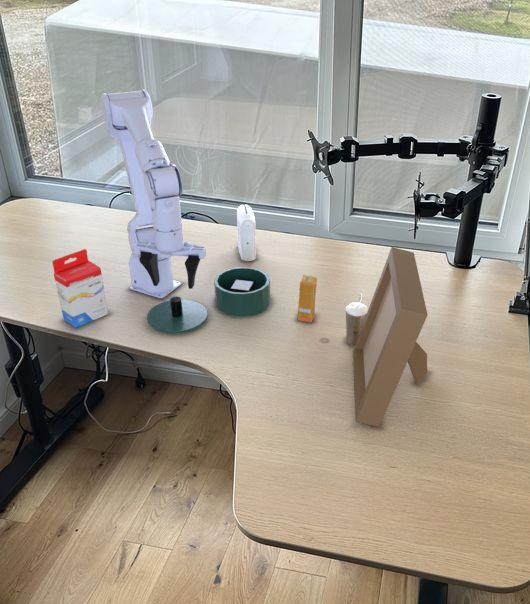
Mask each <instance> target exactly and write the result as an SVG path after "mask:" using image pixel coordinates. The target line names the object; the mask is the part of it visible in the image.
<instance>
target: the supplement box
mask: <svg viewBox="0 0 530 604" xmlns="http://www.w3.org/2000/svg"><path fill="white" fill-rule="evenodd" d="M317 281H318V277H317V276H314V275H308V274H307V275H305V274H303V275H302V278H301V280H300V282H299V293H298V307H297V308H298V310H297V321H299V322H305V323H312V322H313V319H314V316H315V309H316V293H317Z"/></svg>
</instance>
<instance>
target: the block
mask: <svg viewBox="0 0 530 604" xmlns="http://www.w3.org/2000/svg"><path fill="white" fill-rule="evenodd" d="M252 291H254V282H251V281H243V280H236V281H235V282H234V284H233V286H232V287H231V292H240V293H244V292H252Z"/></svg>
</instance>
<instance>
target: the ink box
mask: <svg viewBox="0 0 530 604" xmlns="http://www.w3.org/2000/svg"><path fill="white" fill-rule="evenodd" d="M70 259H75V260H72V261H69V260H70ZM67 261H69V262H67ZM66 262H67V263H66ZM52 267H53V277H54V281H55V287H56V291H57V295H58V300H59V305H60V309H61V313H62V317H63V321H65V322H66V323H67V324H69V325H71V326H72V327H73V328H75V329H77V328H79V327H81V326H83V325H86V324H88V323H91V322H93V321H95V320H98V319H101V318H102V317H104V316H107V315H109V309H108V303H107V298H106V292H105V286H104V280H103V273H102V269H101V267H100V266H98V265H97V264H96V263H94V262H93V261H90V260H89V258H88V250H87V249H86V248H84V249H81V250H78V251H75V252H73V253H70V254H66V255H64V256H60V257H58V258H55V259H53V260H52Z"/></svg>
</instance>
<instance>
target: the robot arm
mask: <svg viewBox="0 0 530 604" xmlns="http://www.w3.org/2000/svg"><path fill="white" fill-rule="evenodd" d="M100 108H101V113H102V117H103V122H104V126H105V129H106V132H107V134H108V137H111V138H113V139H116V141H117V143H118V145H119V148H120V150H121V151H120V152H121V154H122V159H123V163H124V168H125V171H126V175H127V180H128V184H129V188H130V192H131V196H132V201H133V206H134V210H135V215H134V216H133V217H132V218H131V219H130V220H129V221H128V223H127V226H126V230H127V238H128V244H129V249H130V250H131V254H130V256H129V260H128V267H129V274H130V282H131V286H130V287H129V289H130V290H131V291H135V292H138V293H142V294H145V295H148V296H151V297H155V298H157V299H164V298H165V297H166V296H168V295H169V294H170V293H172V292H174V291H175V290H176V289H177V288H179V287H180V286H182V282H181V281H178V280H175V279H174V277H173V276H174V275H173V268H172V267H173V265H172V258H171V257H177V256H178V257H186V260H185V261H184V266H185V270H186V274H187V286H188V287H187V288H188V289H190V290H191V289H194V287H195V282H196V276H197V275H196V274H197V270H198V267H199V264H200V262H201V260H204V259H205V258H206V256H207V248H206V246H204V245H203V246H202V245H197V244H193V243H189V242H186V241H184V230H183V221H182V213H181V211H182V209H181V202H180V196H182V195H183V190H184V187H183V186H184V185H183V180H182V175H181V172H180V169H179V167H178V166H177V165H176V164H175V163H174V162H171V161H170V160H169V159H170V158H169V157H168V155H167V153H166V151H165V148H164V147H163V144H162V142H161V141H160V140H158V139H155V138H154V135H153V132H152V129H151V126H152V119H153V115H154V113H153V112H154V109H153V103H152V98H151V96H150V94H149V93H148V91H147V90H146V89H141V90H135V91H134V90H133V91H123V92H115V93H114V92H113V93H112V92H111V93H106V92H105V93H102V94H101V96H100Z"/></svg>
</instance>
